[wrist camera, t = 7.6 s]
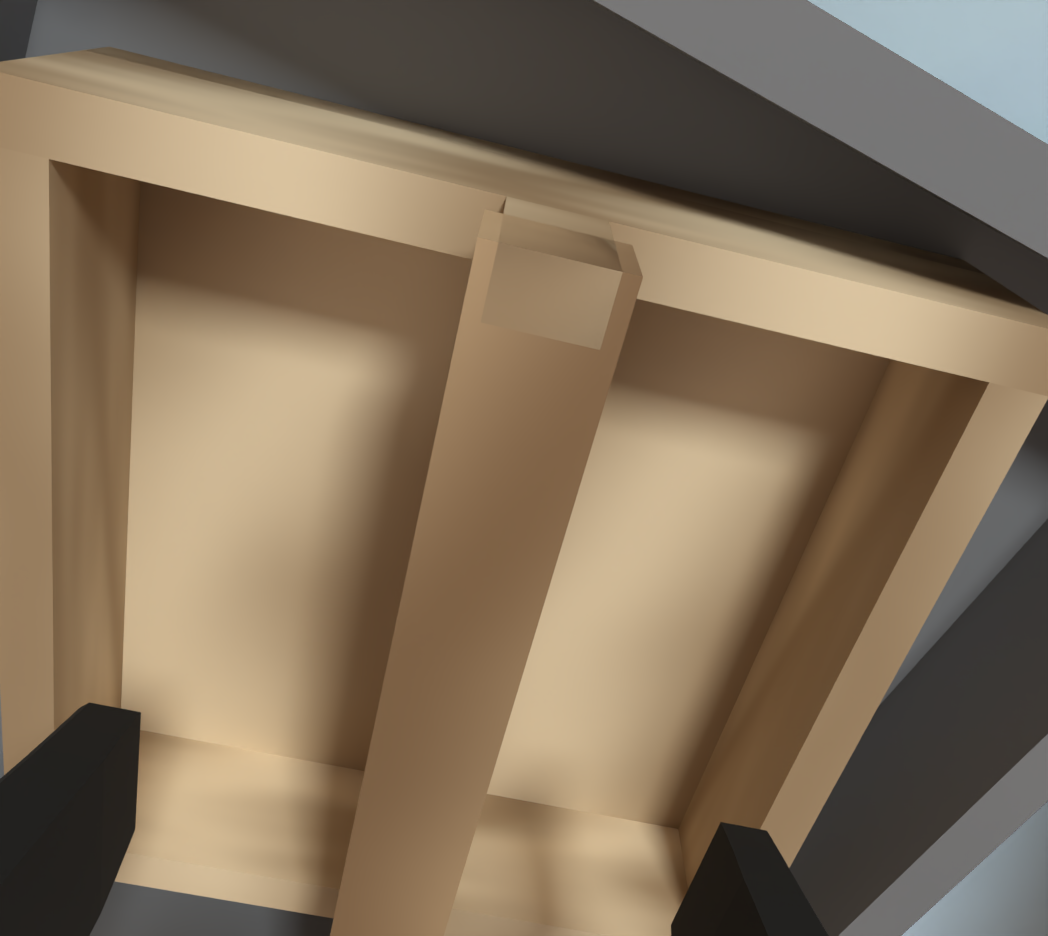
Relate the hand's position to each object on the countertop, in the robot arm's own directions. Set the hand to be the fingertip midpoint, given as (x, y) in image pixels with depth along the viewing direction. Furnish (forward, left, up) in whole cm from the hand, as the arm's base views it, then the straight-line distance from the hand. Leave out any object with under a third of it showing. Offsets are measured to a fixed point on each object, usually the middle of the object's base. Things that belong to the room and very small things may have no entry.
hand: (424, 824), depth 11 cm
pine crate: (0, -1, -6) cm, 6 cm away
